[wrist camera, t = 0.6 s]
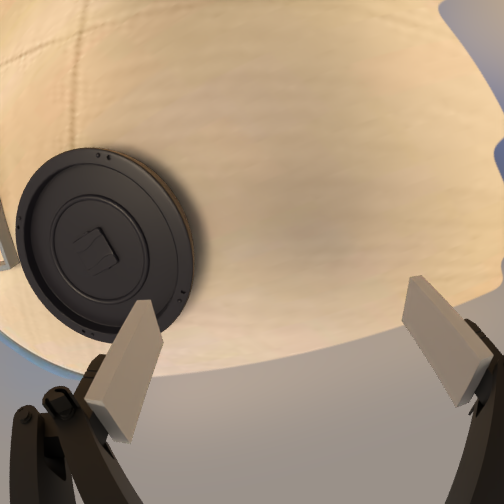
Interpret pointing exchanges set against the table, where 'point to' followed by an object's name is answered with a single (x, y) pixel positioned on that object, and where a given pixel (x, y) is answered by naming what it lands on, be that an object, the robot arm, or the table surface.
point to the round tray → (103, 241)
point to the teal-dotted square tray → (6, 245)
